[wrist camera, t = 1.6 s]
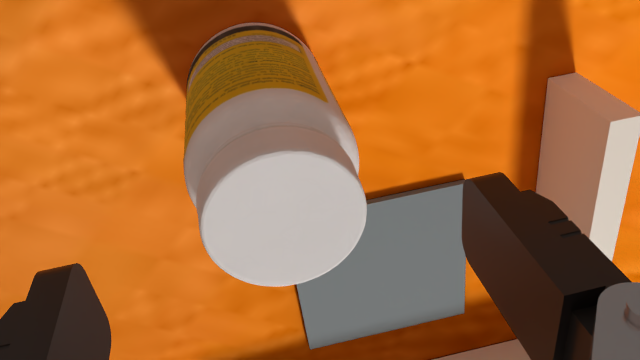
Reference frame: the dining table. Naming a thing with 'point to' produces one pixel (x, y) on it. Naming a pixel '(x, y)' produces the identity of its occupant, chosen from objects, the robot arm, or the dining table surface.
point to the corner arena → (580, 171)
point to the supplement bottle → (270, 159)
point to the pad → (393, 269)
